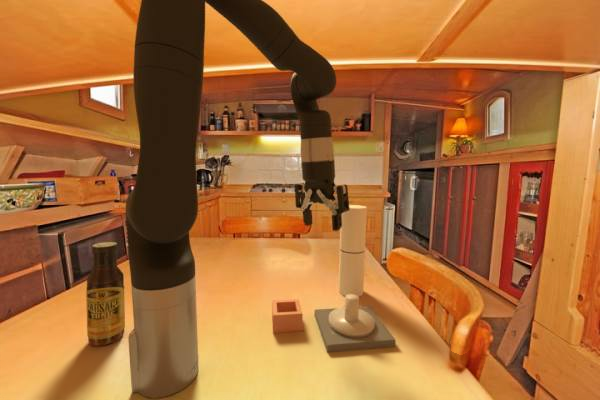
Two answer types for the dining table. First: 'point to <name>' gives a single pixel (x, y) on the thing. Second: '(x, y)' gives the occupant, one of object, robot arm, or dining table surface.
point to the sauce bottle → (105, 296)
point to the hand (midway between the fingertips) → (322, 227)
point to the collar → (286, 316)
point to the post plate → (352, 327)
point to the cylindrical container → (352, 251)
